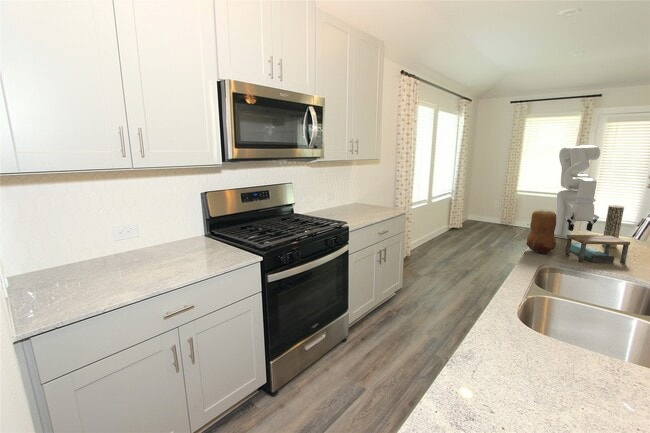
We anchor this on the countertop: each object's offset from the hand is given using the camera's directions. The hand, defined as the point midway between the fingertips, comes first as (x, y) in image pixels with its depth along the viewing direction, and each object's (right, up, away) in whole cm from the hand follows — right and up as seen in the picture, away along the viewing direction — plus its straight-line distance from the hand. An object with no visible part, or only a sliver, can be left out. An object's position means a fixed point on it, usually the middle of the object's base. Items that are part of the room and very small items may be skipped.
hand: (579, 230), depth 178 cm
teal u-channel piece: (-1, -13, -5) cm, 14 cm away
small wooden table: (-2, -15, -11) cm, 19 cm away
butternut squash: (-23, -13, 0) cm, 26 cm away
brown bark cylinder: (+27, -10, +11) cm, 31 cm away
